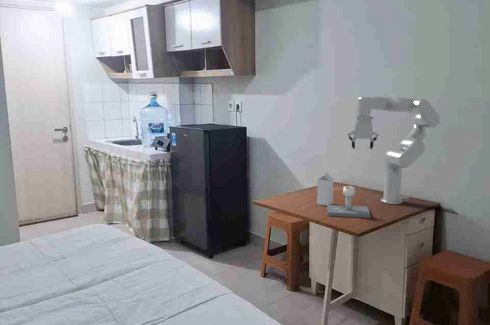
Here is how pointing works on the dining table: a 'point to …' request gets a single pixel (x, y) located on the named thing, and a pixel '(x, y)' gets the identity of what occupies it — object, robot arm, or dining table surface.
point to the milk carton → (325, 190)
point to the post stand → (348, 210)
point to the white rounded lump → (348, 191)
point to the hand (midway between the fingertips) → (362, 148)
